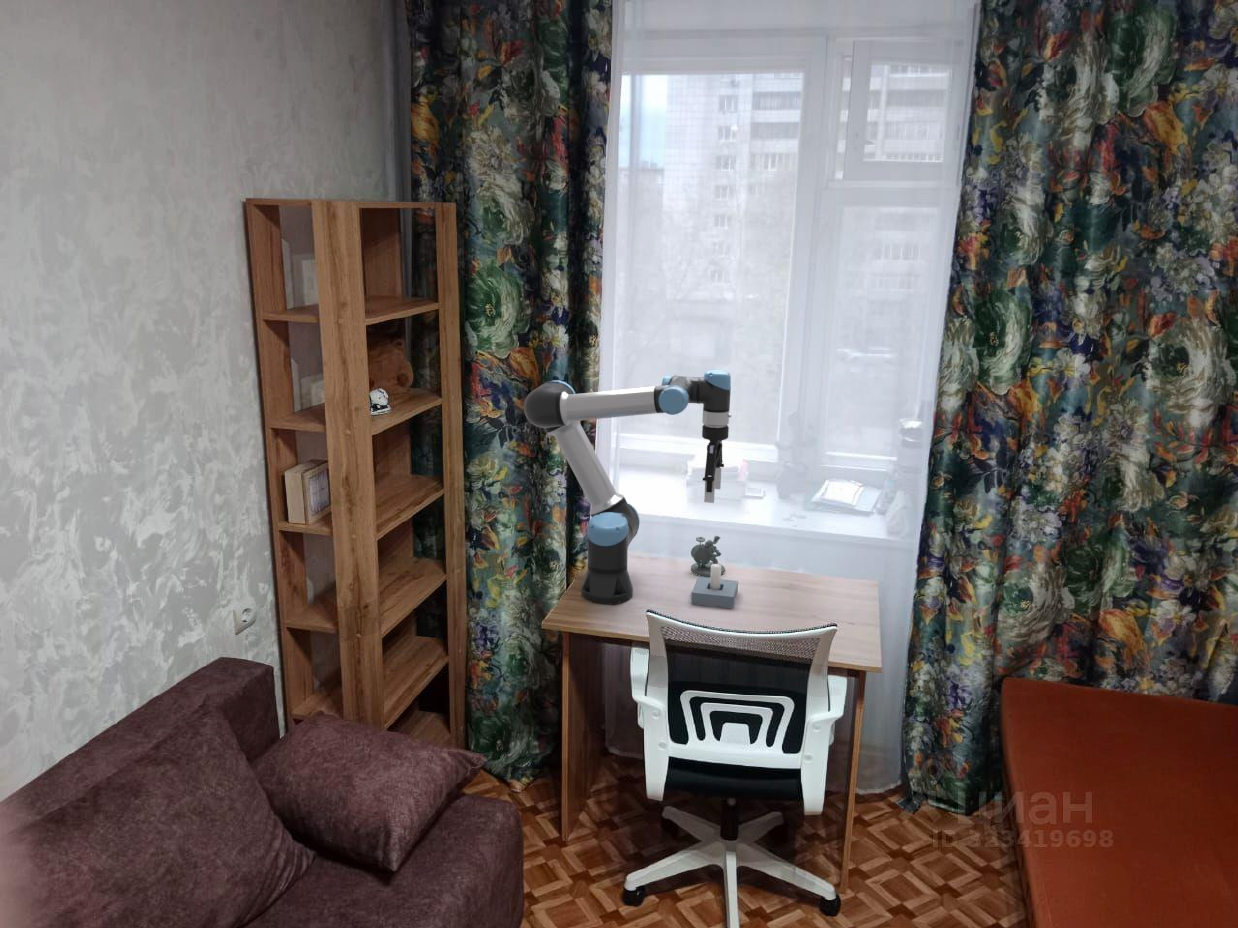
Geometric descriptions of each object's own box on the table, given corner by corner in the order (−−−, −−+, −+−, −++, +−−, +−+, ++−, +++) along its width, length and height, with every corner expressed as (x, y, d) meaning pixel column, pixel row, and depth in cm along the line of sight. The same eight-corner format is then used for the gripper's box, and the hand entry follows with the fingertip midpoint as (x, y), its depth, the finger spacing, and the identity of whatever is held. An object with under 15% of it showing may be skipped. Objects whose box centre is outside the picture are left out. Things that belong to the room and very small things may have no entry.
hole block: (691, 603, 265) (691, 592, 264) (697, 587, 276) (698, 576, 276) (732, 608, 263) (733, 596, 262) (737, 591, 274) (738, 580, 273)
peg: (708, 599, 268) (710, 567, 266) (710, 595, 271) (711, 563, 269) (719, 600, 268) (720, 568, 265) (720, 596, 271) (721, 564, 268)
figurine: (729, 576, 286) (731, 539, 282) (696, 578, 283) (697, 542, 280) (718, 563, 296) (719, 528, 292) (686, 565, 293) (687, 530, 290)
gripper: (722, 435, 252) (719, 509, 257) (733, 416, 275) (730, 484, 281) (695, 433, 253) (693, 507, 259) (709, 414, 277) (706, 482, 282)
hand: (712, 495), depth 270 cm, fingers open, 13 cm apart
